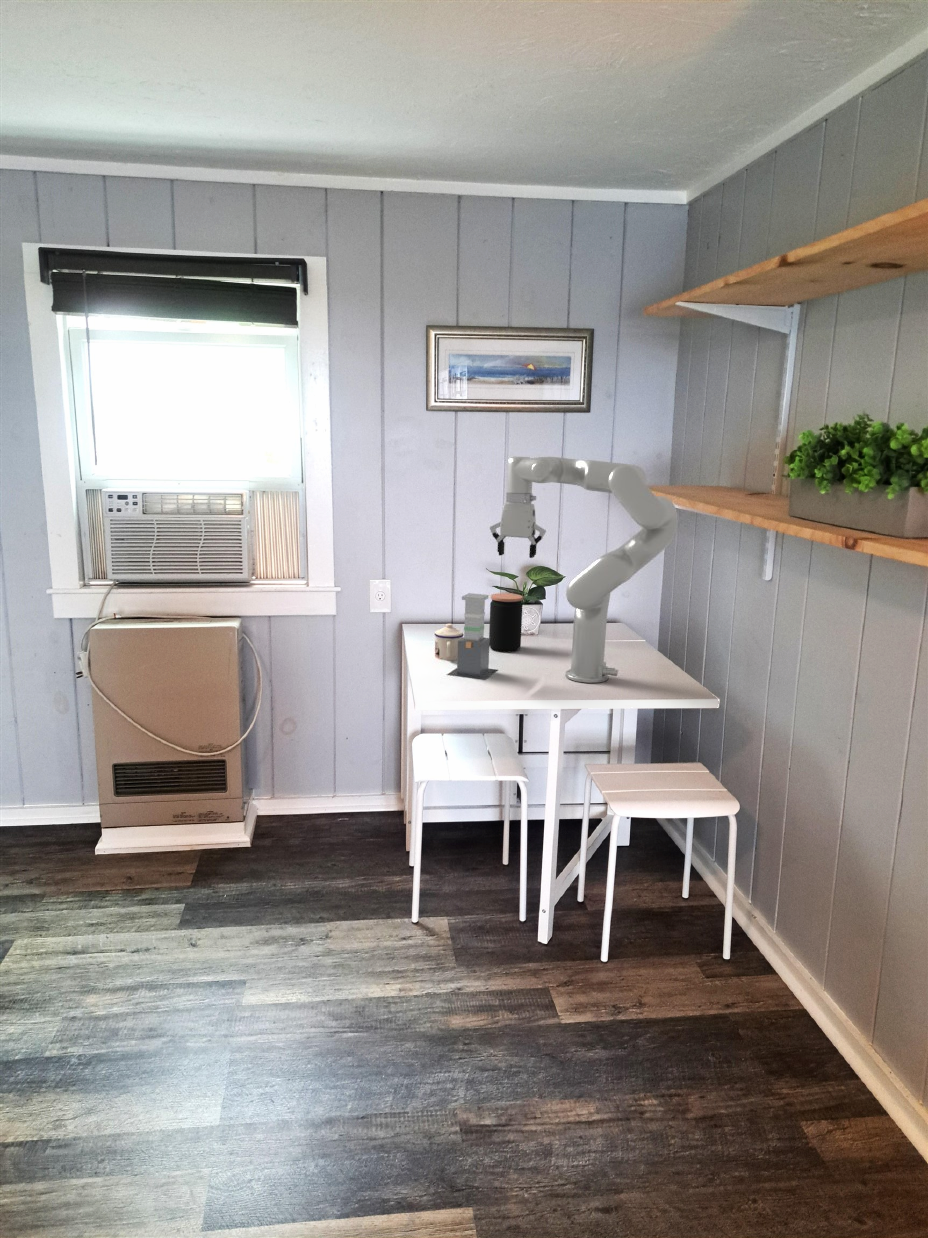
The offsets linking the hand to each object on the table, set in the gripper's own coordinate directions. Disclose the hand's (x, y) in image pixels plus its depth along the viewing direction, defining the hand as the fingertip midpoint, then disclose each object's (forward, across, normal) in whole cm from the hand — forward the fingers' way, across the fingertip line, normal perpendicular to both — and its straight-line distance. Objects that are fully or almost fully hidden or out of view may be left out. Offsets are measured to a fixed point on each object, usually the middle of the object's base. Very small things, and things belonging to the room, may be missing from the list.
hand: (516, 556), depth 253 cm
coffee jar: (+34, +9, -20) cm, 41 cm away
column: (+27, +7, +16) cm, 32 cm away
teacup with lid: (+34, +20, +4) cm, 40 cm away
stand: (+34, +7, +16) cm, 38 cm away
